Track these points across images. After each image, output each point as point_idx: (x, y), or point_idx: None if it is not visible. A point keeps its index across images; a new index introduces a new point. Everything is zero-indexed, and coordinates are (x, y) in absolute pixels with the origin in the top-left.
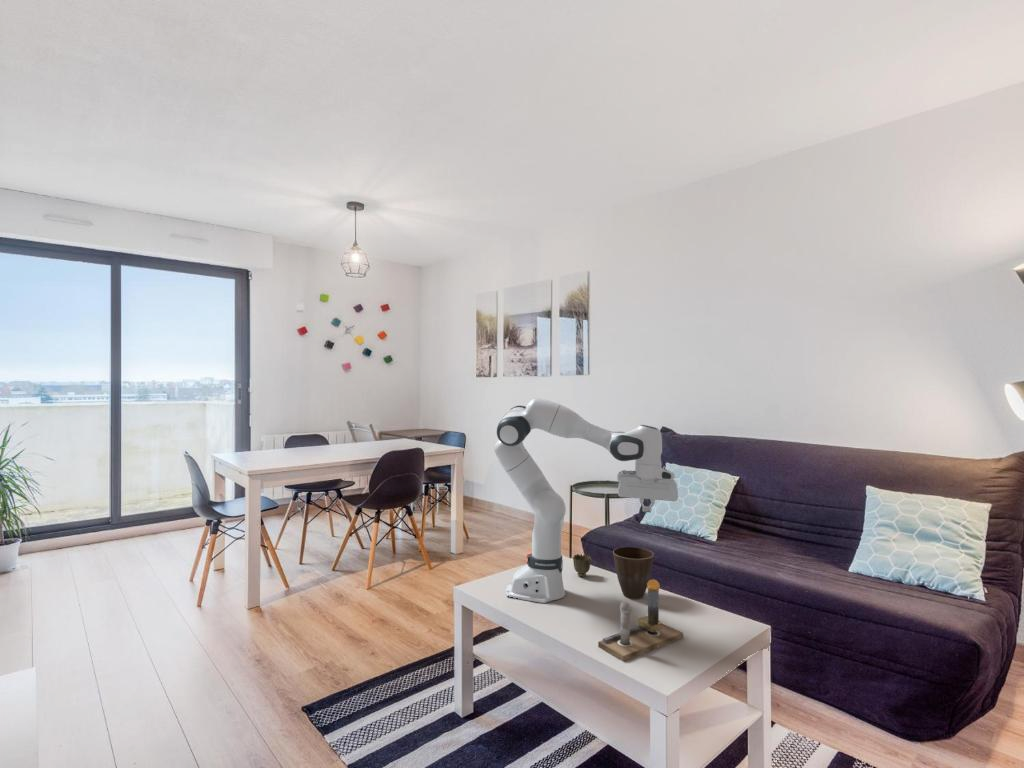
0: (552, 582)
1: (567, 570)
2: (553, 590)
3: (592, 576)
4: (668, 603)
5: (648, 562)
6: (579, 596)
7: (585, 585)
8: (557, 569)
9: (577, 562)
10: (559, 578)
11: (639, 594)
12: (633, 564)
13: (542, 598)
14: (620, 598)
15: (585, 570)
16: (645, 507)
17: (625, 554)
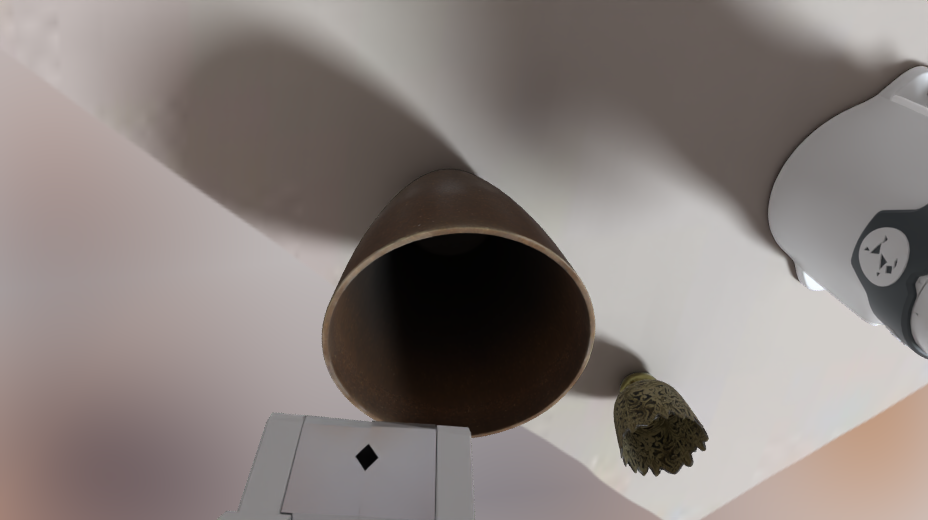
0: (918, 145)
1: None
2: (884, 128)
3: (591, 384)
4: (285, 138)
5: (370, 244)
6: (709, 172)
7: (646, 294)
8: (922, 204)
9: (688, 410)
10: (869, 189)
11: (426, 174)
12: (478, 213)
13: (921, 98)
14: (516, 171)
15: (638, 386)
16: (404, 507)
17: (487, 395)
